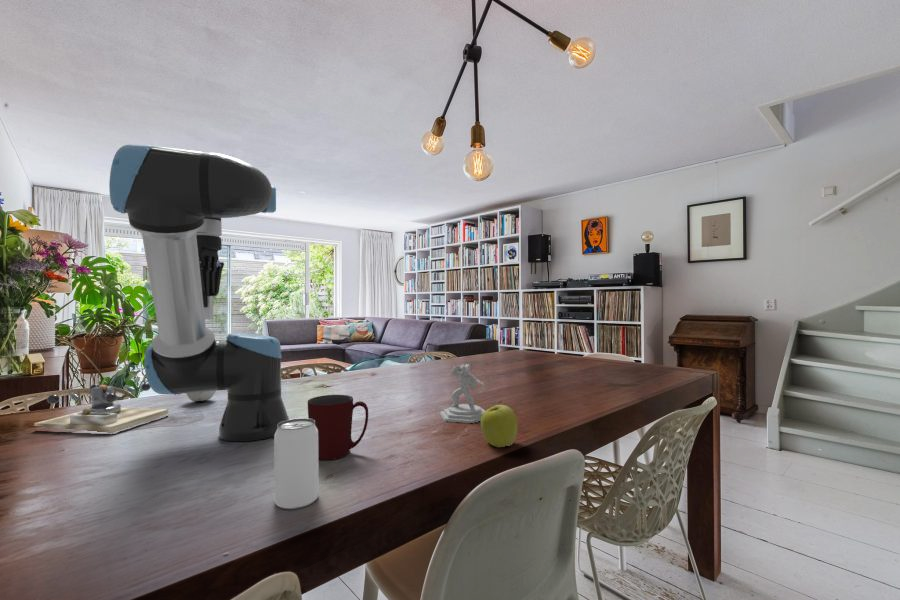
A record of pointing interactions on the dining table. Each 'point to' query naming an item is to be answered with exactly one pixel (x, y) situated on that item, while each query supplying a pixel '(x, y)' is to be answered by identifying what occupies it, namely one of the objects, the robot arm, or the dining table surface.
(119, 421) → the stand
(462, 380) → the figurine
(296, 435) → the can
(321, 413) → the mug
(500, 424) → the apple
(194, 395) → the decorative object
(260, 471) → the dining table surface
